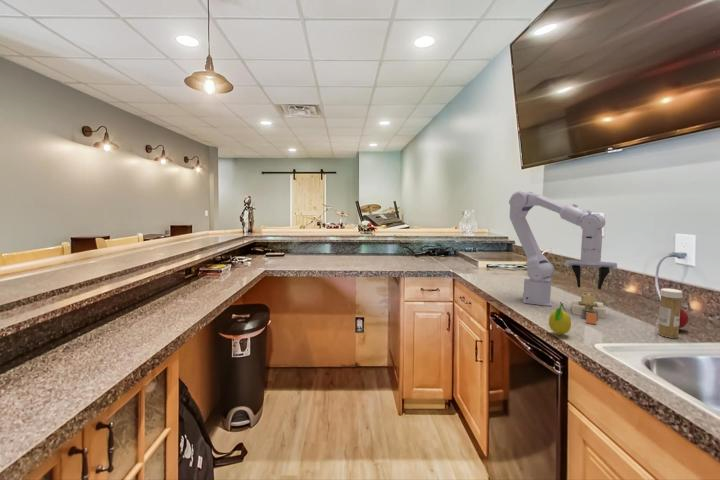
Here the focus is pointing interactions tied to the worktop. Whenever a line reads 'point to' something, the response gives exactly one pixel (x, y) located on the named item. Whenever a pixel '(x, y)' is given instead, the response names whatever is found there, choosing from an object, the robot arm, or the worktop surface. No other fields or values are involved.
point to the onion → (683, 318)
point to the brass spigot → (588, 300)
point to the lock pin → (591, 318)
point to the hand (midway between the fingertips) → (588, 287)
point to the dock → (578, 308)
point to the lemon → (560, 321)
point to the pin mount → (589, 312)
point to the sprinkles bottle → (669, 312)
